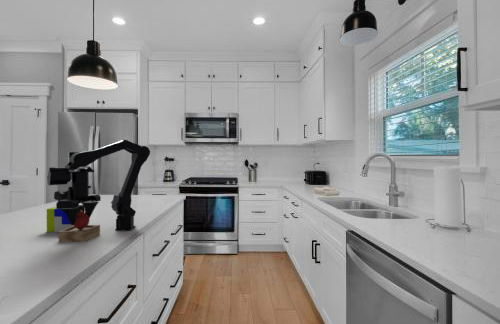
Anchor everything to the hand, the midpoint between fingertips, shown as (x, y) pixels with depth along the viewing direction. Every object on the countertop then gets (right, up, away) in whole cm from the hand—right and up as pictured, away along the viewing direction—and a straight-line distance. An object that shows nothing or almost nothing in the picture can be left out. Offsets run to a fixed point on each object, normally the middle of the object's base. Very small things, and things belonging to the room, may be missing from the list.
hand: (80, 222), depth 104 cm
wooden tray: (0, -6, 0) cm, 6 cm away
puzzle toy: (-15, -6, +13) cm, 21 cm away
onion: (0, -3, 0) cm, 3 cm away
